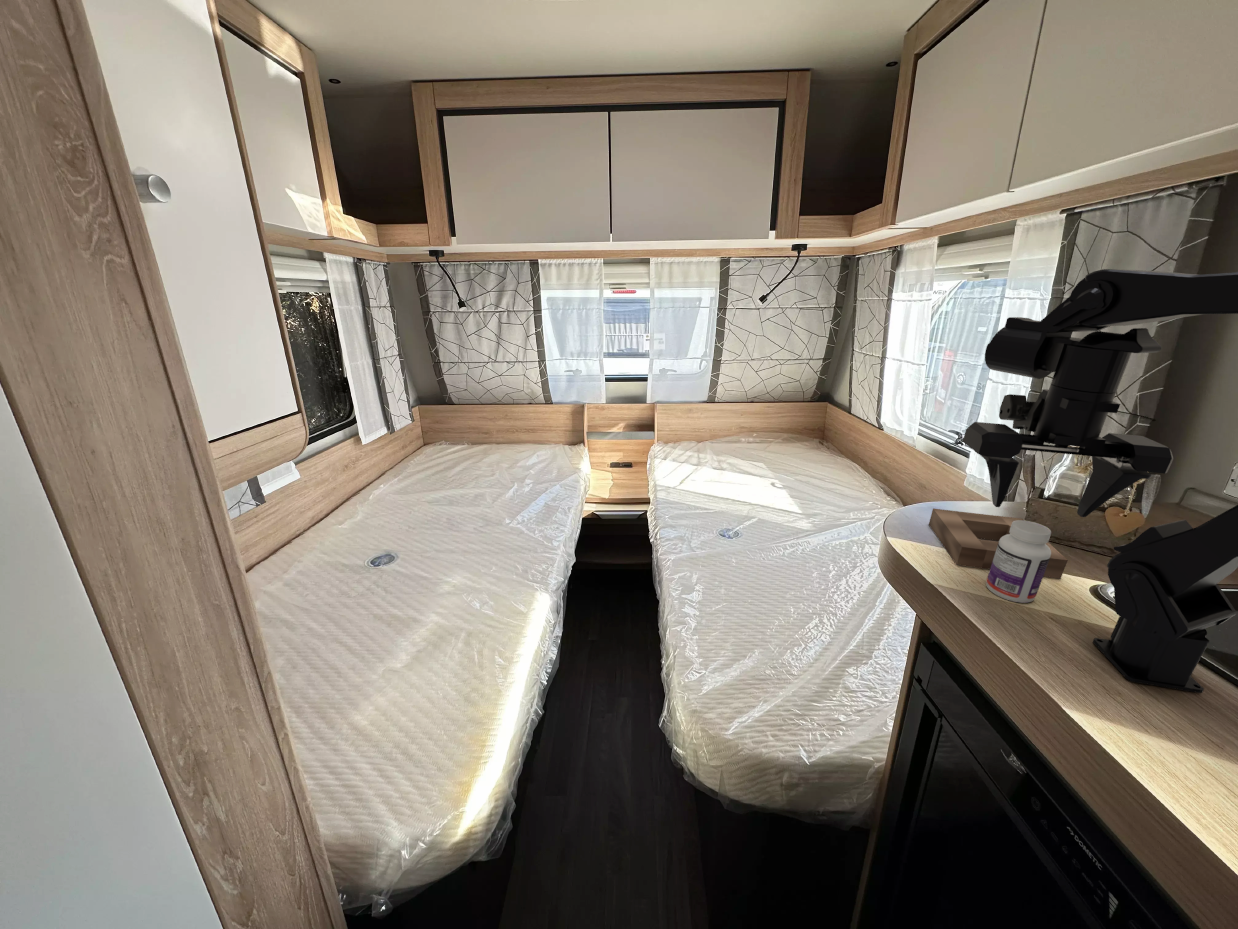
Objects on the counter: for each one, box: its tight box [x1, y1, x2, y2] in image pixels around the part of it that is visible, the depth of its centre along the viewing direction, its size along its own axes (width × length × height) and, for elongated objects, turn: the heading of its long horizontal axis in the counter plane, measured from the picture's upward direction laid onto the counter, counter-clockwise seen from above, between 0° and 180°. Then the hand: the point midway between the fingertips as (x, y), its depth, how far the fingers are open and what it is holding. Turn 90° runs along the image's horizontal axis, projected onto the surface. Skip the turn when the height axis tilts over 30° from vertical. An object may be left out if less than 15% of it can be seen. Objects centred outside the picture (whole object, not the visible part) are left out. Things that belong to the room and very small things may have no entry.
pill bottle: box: [985, 519, 1052, 604], centre depth 66 cm, size 5×5×10 cm
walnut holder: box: [928, 508, 1068, 580], centre depth 77 cm, size 13×13×3 cm
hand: (1037, 510), depth 63 cm, fingers open, 9 cm apart
